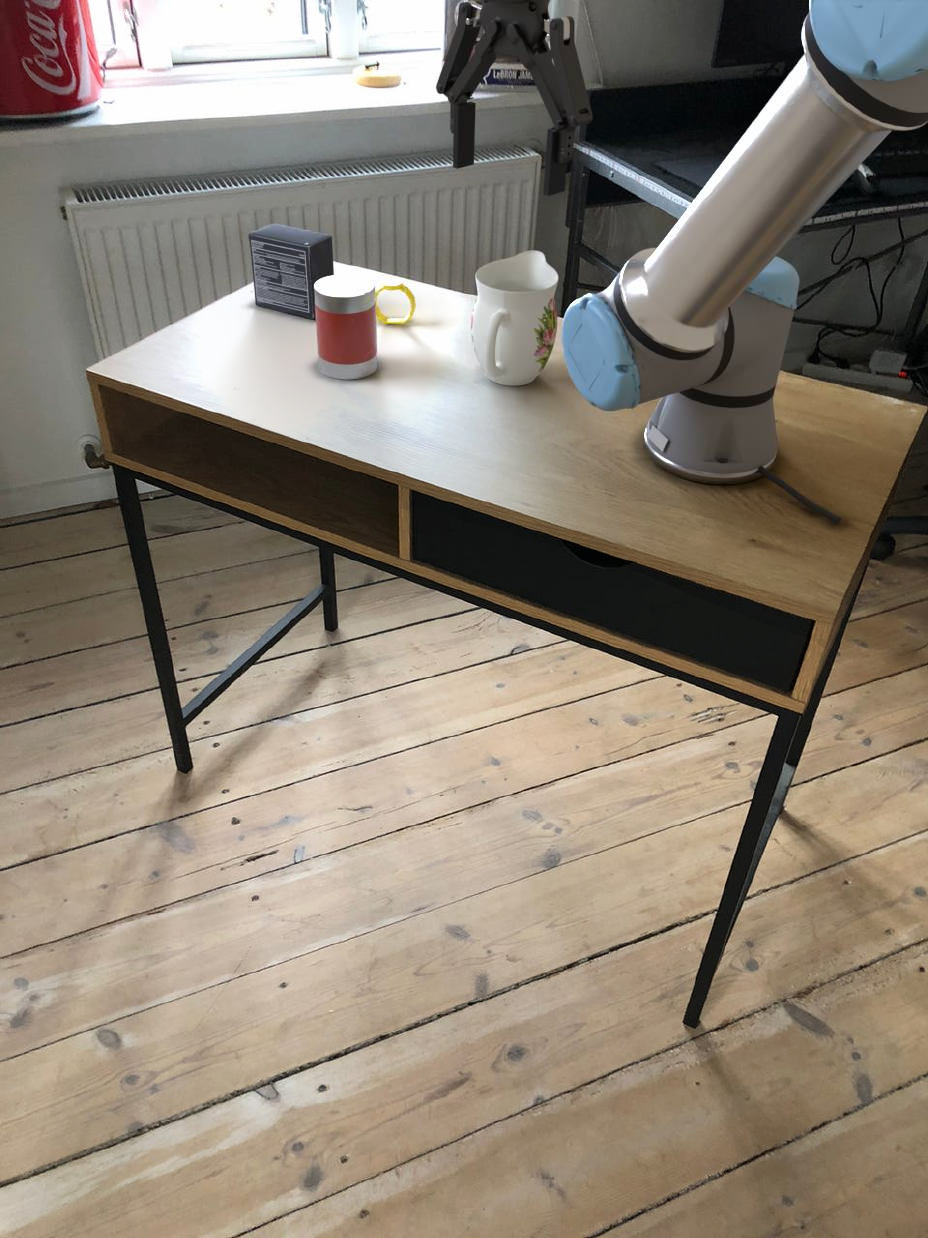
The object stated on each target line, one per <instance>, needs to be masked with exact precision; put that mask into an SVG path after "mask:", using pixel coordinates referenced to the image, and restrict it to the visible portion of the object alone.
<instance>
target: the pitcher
mask: <svg viewBox="0 0 928 1238" xmlns="http://www.w3.org/2000/svg"><path fill="white" fill-rule="evenodd" d="M474 278H475V283H476V289H477V296H476V298H475V301H474V304H473V307H472V312H471V319H470V320H471V321H470V333H471V342H472V347H473V351H474V354H475V358H476V360H477V362H478V364H479V367H480V369H481V370H482V371H483V373H484V374H485V375H486V377H487V379H488V380H489V381H491V382H493V383H496V384H499V385H503V386H513V387H515V386H517V387H518V386H523V385H527V384H530V383H532V382H534V381H535V379H536V378H537V377H538V376H539V375H540V374H541V373H542V372H543V370H544V368H545V367H546V365H547V363H548V361H549V359H550V357H551V354H552V352H553V349H554V345H555V342H556V337H557V332H558V311H557V310H558V309H557V305H556V302H555V301H556V300H555V298H554V297H555V295H556V289H557V287H558V283H559V278H560V277H559V274H558V272H557V270H556V269H555V268H554V267H553V266H551V265H550V264H549V263H548V262H547V259H546V255H545V253H544V252H542V251H540V250H536V249H535V250H534V249H532V250H526V251H523V252H519V253H518V254H516V255H513V256H510V257H507V258H501V259H497V260H494V261H490V262H488V263H486V264H483V265H481V267H479V268H478V269H477V270H476V272H475V277H474Z"/></svg>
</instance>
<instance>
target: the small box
mask: <svg viewBox="0 0 928 1238" xmlns="http://www.w3.org/2000/svg"><path fill="white" fill-rule="evenodd" d="M247 234H248V241H249V249H250V259H251V270H252V271H251V272H252V280H253V290H254V291H253V292H254V304H255V306H257V307H260V308H261V307H262V308H265V309H270V310H273V311H278V312H282V313H286V314H291V315H294V316H299V317H302V318H306V319H310V320H313V319H316V316H315V293H314V285H315V283H316V282H317V281H318V280H320V279H322V278H325V277H328V276H333V275H335V268H334V250H333V249H334V248H333V235H332V234H328V233H322V232H318V231H313V230H308V229H303V228H298V227H293V226H288V225H283V224H280V223H279V224H278V223H270V224H268V225H266V226H263V227H261V228H259V229H256V230H254V231H251V232H249V233H247Z"/></svg>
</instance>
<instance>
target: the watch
mask: <svg viewBox="0 0 928 1238" xmlns="http://www.w3.org/2000/svg"><path fill="white" fill-rule="evenodd" d="M383 290H386V291H398V290H399V291H401V292H403V293H404V294H405V296H406V297H407V298H408V299H409V302H410V308H411V309H410V312H409V314H408V315H407V316H406V317H405V318H388V317H387V316H386V315H384V314H383V313H382V312H381V310H380V308H379V306H378V295H379V294H380V293H381V292H383ZM375 301H376V318H377V320H379V321H381V322H382V323H383V324H384V325H406V324H407V323H408V322H409V321H410V320H412V318H413V316H414V313H415V310H416V307H417V305H416V299H415V295H414V294H413V292H412V291H411V289H410V288H409V287H408V286H406V285H404V284H403V281H402V279H399V278H389V279H384V280H383V281H382V284H381V285H380V286H379V287H378V288H377V290H375Z"/></svg>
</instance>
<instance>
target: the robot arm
mask: <svg viewBox="0 0 928 1238" xmlns="http://www.w3.org/2000/svg"><path fill="white" fill-rule="evenodd" d="M550 1H551V0H483V3H482V1H481V0H468V1H461V2H460V3H459V5H458V11H457V23H456V26H455V27H456V28H455V30H454V33H453V35H452V39H451V42H450V45H449V47H448V50H447V53H446V56H445V59H444V62H443V65H442V68H441V70H440V73H439V75H438V79H437V82H436V85H435V90H436V92H437V94H439V95H443V96H445V97H446V98H447V101H448V102H449V107H450V108H449V111H450V112H449V117H450V118H449V122H450V123H449V130H450V133H451V134H452V135H453V136H452V137H453V138H452V168H454V169H457V170H459V169H463V168H466V167H470V166H475V146H476V145H475V143H476V142H475V141H476V140H475V139H476V107H477V106H476V102H474V101H471V100H474V98H475V97H474V96H473V94H474V93H475V92H476V90H477V88H478V87H479V85H480V84H481V82H482V81H483V79H484V78H485V76H486V75H487V74H488V72H489V70H490V69H491V68H492V66H493V64H494V63H495V62H496V60H497V59H508V60H510V61H512V62H514V63H520V62H521V64H522V66H523V68H524V69H526V70H527V71H528V72H529V75H530V76H531V79H532V80H533V82H534V85H535V87H536V89H537V91H538V94H539V96H540V98H541V100H542V102H543V105H544V106H545V108H546V111H547V113H548V115H549V117H550V120H551V122H552V124H553V126H552V127H550V128H547V131H546V132H547V134H546V147H545V160H544V161H545V162H544V163H545V164H544V174H543V175H544V177H543V192H542V195H543V196H547V197H551V196H553V195H558V194H560V193H563V192H565V191H566V181H567V180H566V179H567V169H568V168H567V167H568V162H571V161H572V158H573V155H574V145H575V132H576V129H577V128H578V127H581V126H584V125H588V124H591V123H592V122H593V112H592V107H591V103H590V99H589V95H588V92H587V91H588V90H587V87H586V83H585V79H584V76H583V70H582V67H581V63H580V59H579V56H578V55H579V54H578V51H577V46H576V43H575V42H576V41H575V40H576V39H575V34H576V32H575V30H576V29H575V28H576V27H575V26H576V24H575V19H574V17H573V16H571V15H567V16H561V17H554V18H552V17H551V16H550V13H549V12H550V11H549V6H550ZM808 5H809V8H808V9H809V10H808V11H809V12H808V13H807V15H806V17H805V18H804V21H803V23H802V24H803V25H802V29H801V42H802V46H803V47H802V48H803V52H804V53H803V55H802V56H801V58H800V59H799V60H798V62H797V64H795V66H794V67H793V69H791V71H790V72H789V73H788V75H787V76H786V78H785V79H784V80H783V82H781V84H780V86H779V87H778V88H777V90H776V91H775V92H774V93H773V95H772V96H771V98H770V99H769V100H768V102H767V103H766V104H765V106H764V107H763V108H762V109H761V111H760V112H759V113H758V115H757V116H756V117H755V119H754V120H753V121H752V123H751V124H750V125H749V127H748V128H747V129H746V131H745V132H744V133H743V134H742V136H741V137H740V139H739V140H738V141H737V142H736V144H735V145H734V146H733V148H732V149H731V150H730V152H729V153H728V154H727V156H726V157H725V158H724V159H723V161H722V162H721V164H720V165H719V167H718V168H717V169H716V170H715V171H714V173H713V174H712V175H711V177H710V178H709V180H707V182H706V183H705V185H704V186H703V188H702V189H701V190H700V192H699V193H698V194H697V195H696V197H695V198H694V199H693V201H692V202H691V203H690V205H689V206H688V207H687V209H686V210H685V211H684V213H683V214H682V215H681V217H680V218H679V219H678V221H677V222H676V223H675V225H674V226H673V227H672V229H671V230H670V231H669V232H668V234H667V235H666V236H665V238H664V239H663V240H662V242H661V243H660V244H659V245H658V247H649V248H645V249H642V250H640V251H638V252H636V253H635V254H634V255H632V256H631V257H630V258H629V259H628V260H627V261H626V263H625V264H624V265H623V267H622V269H620V271H619V272H618V274H617V275H616V276H615V278H614V279H613V280H612V282H611V284H610V285H609V286H608V287H607V288H605V289H604V290H602V291H600V292H598V293H594V292H589V293H586V294H584V295H583V296H581V297H579V298H577V299H575V300H573V302H572V303H570V305H569V306H568V308H567V309H566V311H565V313H564V316H563V320H562V325H561V346H562V353H563V359H564V363H565V366H566V369H567V372H568V374H569V376H570V379H571V381H572V383H573V385H574V386H575V387H576V389H577V391H578V392H579V394H580V395H581V396H582V397H583V399H584V400H585V401H586V402H587V403H589V404H590V405H591V406H593V407H595V408H597V409H598V410H601V411H604V412H616V411H621V410H633V409H635V408H636V407H637V406H638V405H642V404H645V403H648V402H652V401H655V400H658V399H659V400H658V403H657V405H656V407H655V409H653V410H654V411H653V412H652V414H651V416H650V417H649V420H648V422H647V425H646V427H645V431H644V436H643V444H642V445H643V450H644V452H645V454H646V455H647V457H648V458H649V459H650V460H651V462H653V463H654V464H655V465H657V466H658V467H659V468H661V469H662V470H664V471H666V472H667V473H670V474H672V475H675V476H676V477H680V478H683V479H685V480H690V481H692V482H693V481H694V482H699V483H703V484H713V485H714V484H715V485H735V484H742V483H743V484H744V483H748V482H751V481H754V480H757V479H760V478H762V477H765V478H766V479H768V480H769V481H770V482H772V483H774V485H776V486H778V487H779V488H781V489H782V490H783V491H785V492H786V493H788V495H790V496H791V497H792V498H794V499H795V500H797V501H798V503H799V502H800V504H803V506H805V507H807V508H808V509H810V510H811V511H813V512H815V513H816V514H819V515H820V516H822V517H824V518H825V519H827V520H829V521H831V522H833V523H834V524H837V525H838V524H839V523H840V522H841V520H842V518H841V517H840V516H839V515H836V513H833V512H831V511H829V510H828V509H825V508H824V507H822V506H820V505H818V504H817V503H815V502H813V501H812V500H810V499H809V498H807V497H806V496H804V495H803V494H802V493H800V492H799V491H797V489H795V488H794V487H792V486H791V485H790V484H789V483H787V482H786V481H784V480H782V479H781V478H780V477H778V476H777V475H776V474H774V473H773V472H772V471H771V470H772V468H773V467H774V465H775V461H776V458H777V454H778V435H777V424H776V415H775V407H774V406H775V405H774V396H775V391H776V387H777V383H778V379H779V378H778V377H779V374H780V371H781V370H780V369H781V366H782V363H783V359H784V355H785V350H786V348H787V347H786V345H787V342H788V338H789V334H790V329H791V326H792V321H793V318H794V313H795V310H797V307H798V305H797V300H798V294H799V293H798V292H799V287H800V276H799V273H798V272H797V269H796V268H795V267H794V265H792V264H791V263H790V262H788V261H786V260H784V259H783V258H781V257H778V255H779V253H780V252H781V251H782V250H783V249H784V248H785V247H786V246H787V245H788V244H789V242H791V240H792V239H793V238H794V237H795V236H796V235H797V234H798V233H799V232H800V231H801V229H802V228H803V227H804V226H806V224H807V223H808V222H809V221H810V220H811V219H812V217H814V216H815V214H816V213H817V212H818V211H819V210H820V209H821V208H822V207H823V206H824V205H825V203H826V202H827V201H828V200H829V199H830V198H831V197H832V196H833V195H834V194H835V193H836V192H837V190H839V188H840V187H841V186H842V185H843V184H844V183H845V182H846V181H847V180H848V179H849V177H850V176H851V175H852V174H853V173H854V172H855V171H856V170H857V169H858V168H859V167H860V166H861V165H862V163H864V161H865V160H866V159H867V158H868V157H869V156H870V155H871V154H872V152H874V150H875V149H876V148H877V147H878V146H879V145H880V144H881V143H882V142H883V141H884V140H885V138H886V137H887V136H888V135H889V134H890V133H891V132H892V131H904V132H905V131H912V130H916V129H920V128H921V127H923V126H925V125H926V124H927V123H928V0H809V4H808ZM481 26H482V29H483V31H484V33H483V34H482V35H481V37H480V38H479V40H478V41H477V39H478V37H479V34H480V31H481ZM476 42H477V43H476ZM548 42H549V43H548ZM473 51H474V52H473ZM472 53H473V54H472ZM469 100H470V101H469Z"/></svg>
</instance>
